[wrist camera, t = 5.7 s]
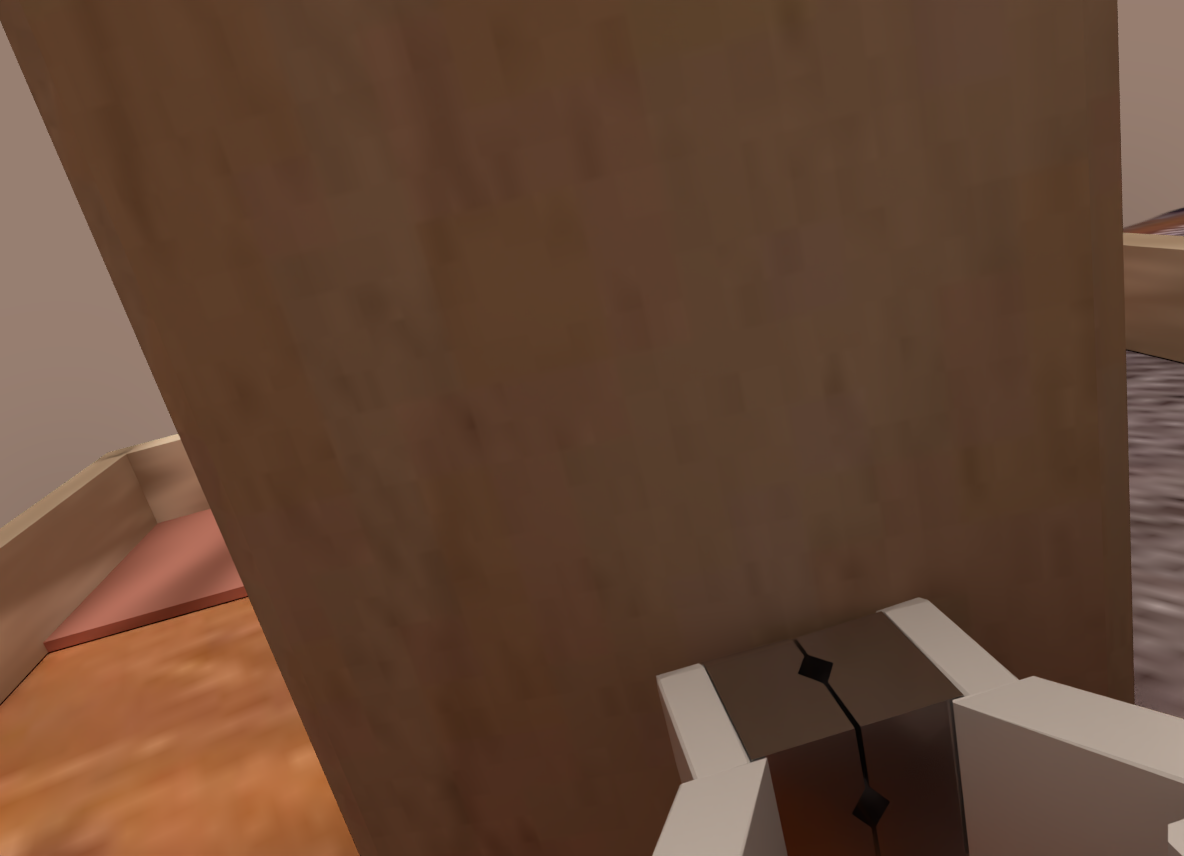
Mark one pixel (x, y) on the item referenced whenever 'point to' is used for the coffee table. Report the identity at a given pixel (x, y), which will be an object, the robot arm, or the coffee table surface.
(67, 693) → the coffee table surface
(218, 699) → the coffee table surface
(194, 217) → the wooden block
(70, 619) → the trap box
